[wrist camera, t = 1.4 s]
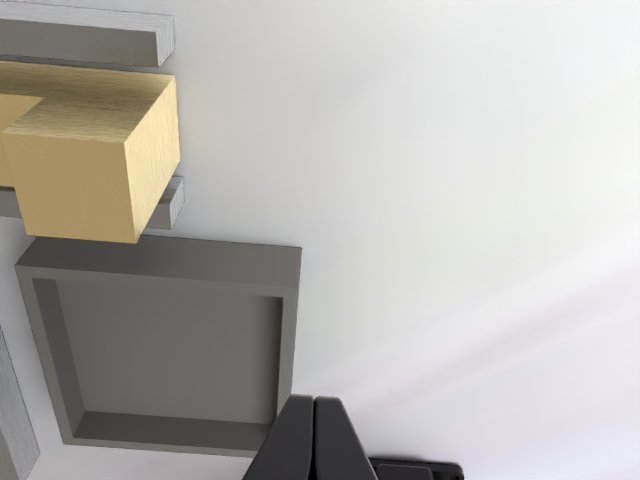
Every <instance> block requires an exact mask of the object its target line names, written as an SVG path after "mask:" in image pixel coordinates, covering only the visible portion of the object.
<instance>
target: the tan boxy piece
mask: <svg viewBox="0 0 640 480" xmlns="http://www.w3.org/2000/svg"><path fill="white" fill-rule="evenodd" d="M180 160H181V159H180V143H179V128H178V112H177V96H176V80H175V75H163V74H152V73H140V72H129V71H117V70H106V69H94V68H82V67H71V66H59V65H48V64H36V63H24V62H13V61H1V60H0V186H9V187H15V191H16V195H17V199H18V203H19V207H20V211H21V215H22V219H23V223H24V227H25V231H26V235H34V236H47V237H59V238H72V239H84V240H97V241H109V242H122V243H135V244H136V243H137V241H138V239H139V237H140V235H141V234H142V232H143V230H144V228H145V226H146V224H147V222H148V220H149V218H150V217H151V215H152V213H153V211H154V209H155V207H156V205H157V203H158V201H159V199H160V198H161V196H162V194H163V192H164V190H165V188H166V186H167V184H168V182H169V180H170V179H171V177H172V175H173V173H174V171H175V169H176V167H177V165H178V163H179V161H180Z"/></svg>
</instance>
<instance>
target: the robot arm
mask: <svg viewBox="0 0 640 480" xmlns="http://www.w3.org/2000/svg"><path fill="white" fill-rule="evenodd" d="M242 480H464V473H463V469H462V468H461V467H459V466H453V465H439V464H425V463H411V462H397V461H383V460H369V459H368V457H367V455H366V453H365V451H364V448H363V446H362V444H361V442H360V440H359V438H358V436H357V433H356V431H355V429H354V427H353V425H352V423H351V420H350V418H349V416H348V414H347V412H346V410H345V408H344V405H343V403H342V401H341V400H340V399H339V398H337V397H326V396H318V397H316V399H314V397H313V396H311V395H299V394H292V395H290V396H289V397H288V399H287V401H286V402H285V404H284V406H283V408H282V410H281V411H280V413H279V415H278V417H277V418H276V420H275V422H274V424H273V426H272V427H271V429H270V431H269V433H268V434H267V436H266V438H265V440H264V442H263V443H262V445H261V447H260V449H259V450H258V452H257V454H256V456H255V458H254V459H253V461H252V463H251V465H250V466H249V468H248V470H247V472H246V474H245V475H244V477H243V479H242Z"/></svg>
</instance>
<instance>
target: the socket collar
mask: <svg viewBox="0 0 640 480" xmlns="http://www.w3.org/2000/svg"><path fill="white" fill-rule="evenodd" d="M39 454H40V452H39V449H38V446H37V442H36V439H35V436H34V433H33V430H32V426H31V423H30V420H29V417H28V414H27V411H26V407H25V404H24V401H23V398H22V395H21V392H20V388H19V385H18V382H17V379H16V376H15V372H14V369H13V366H12V363H11V360H10V357H9V353H8V350H7V347H6V344H5V341H4V338H3V334H2V331H1V328H0V480H27V478H28V476H29V474H30V472H31V470H32V468H33V466H34V464H35V462H36V460H37V458H38V456H39Z"/></svg>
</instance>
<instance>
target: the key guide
mask: <svg viewBox="0 0 640 480" xmlns="http://www.w3.org/2000/svg"><path fill="white" fill-rule="evenodd" d="M174 49H175V39H174V23H173V16H169V15H158V14H146V13H135V12H124V11H112V10H101V9H90V8H79V7H67V6H56V5H45V4H33V3H22V2H11V1H0V54H6V55H18V56H29V57H41V58H52V59H64V60H76V61H87V62H99V63H110V64H122V65H133V66H145V67H157V68H159V67H160V66H161V64H162V63H163V62H164V61H165V60H166V59H167V57H168V56H169V55H170V54H171V53H172V52H173V51H174ZM184 201H185V200H184V184H183V177H176V176H172V177H171V179H170V180H169V182H168V184H167V186H166V188H165V190H164V192H163V194H162V196H161V198H160V199H159V201H158V203H157V205H156V207H155V209H154V211H153V213H152V215H151V217H150V218H149V220H148V222H147V224H146V226H145V228H155V229H168V230H172V228H173V225H174V223H175V221H176V219H177V216H178V214H179V212H180V210H181V208H182V205H183V203H184ZM0 216H6V217H18V218H22V215H21V211H20V207H19V203H18V199H17V195H16V191H15V187H9V186H0Z"/></svg>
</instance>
